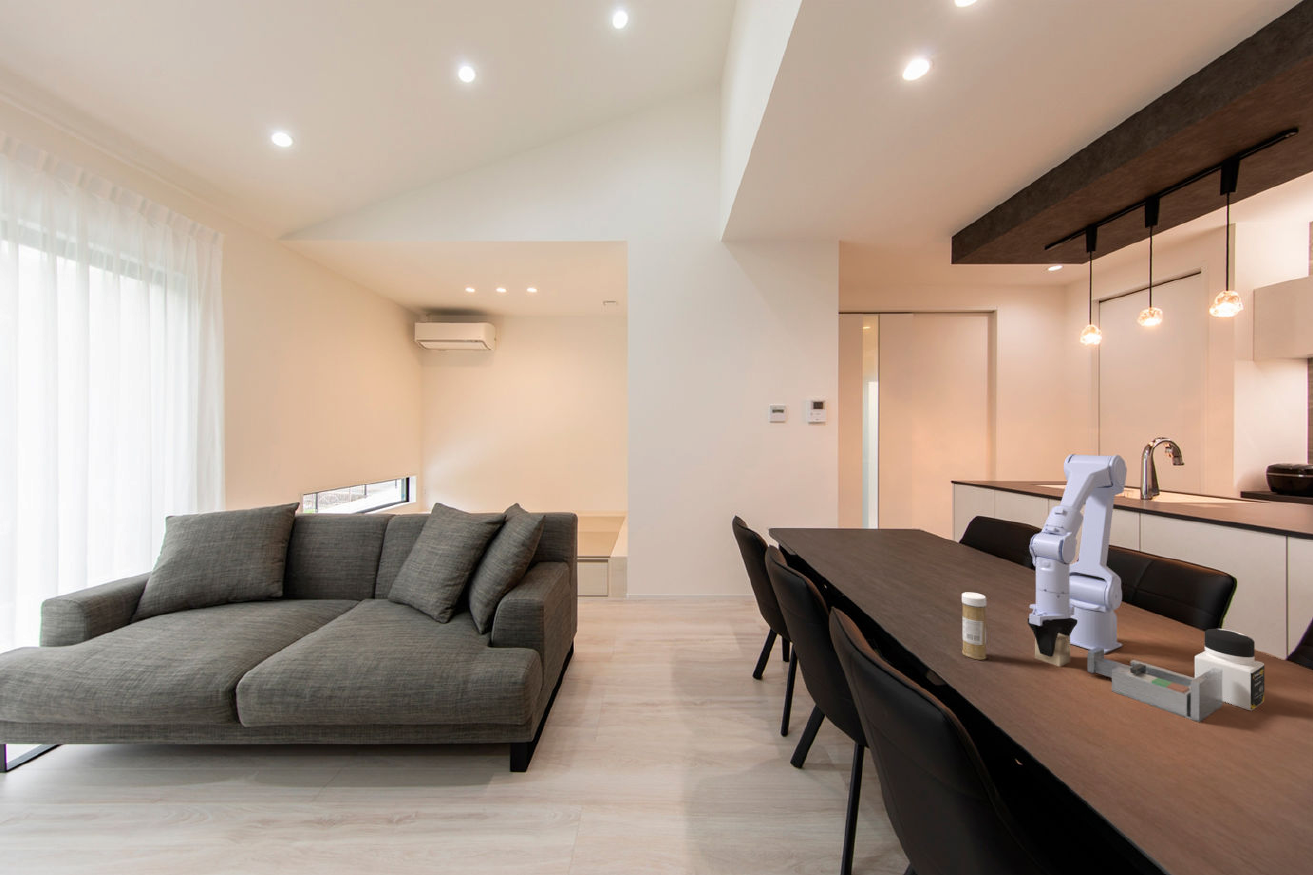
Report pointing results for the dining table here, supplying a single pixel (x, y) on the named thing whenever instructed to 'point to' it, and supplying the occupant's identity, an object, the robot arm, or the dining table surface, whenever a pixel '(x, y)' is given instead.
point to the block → (1056, 651)
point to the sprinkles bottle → (974, 625)
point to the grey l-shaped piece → (1108, 664)
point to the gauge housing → (1171, 690)
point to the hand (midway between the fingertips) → (1052, 652)
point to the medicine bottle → (1233, 667)
